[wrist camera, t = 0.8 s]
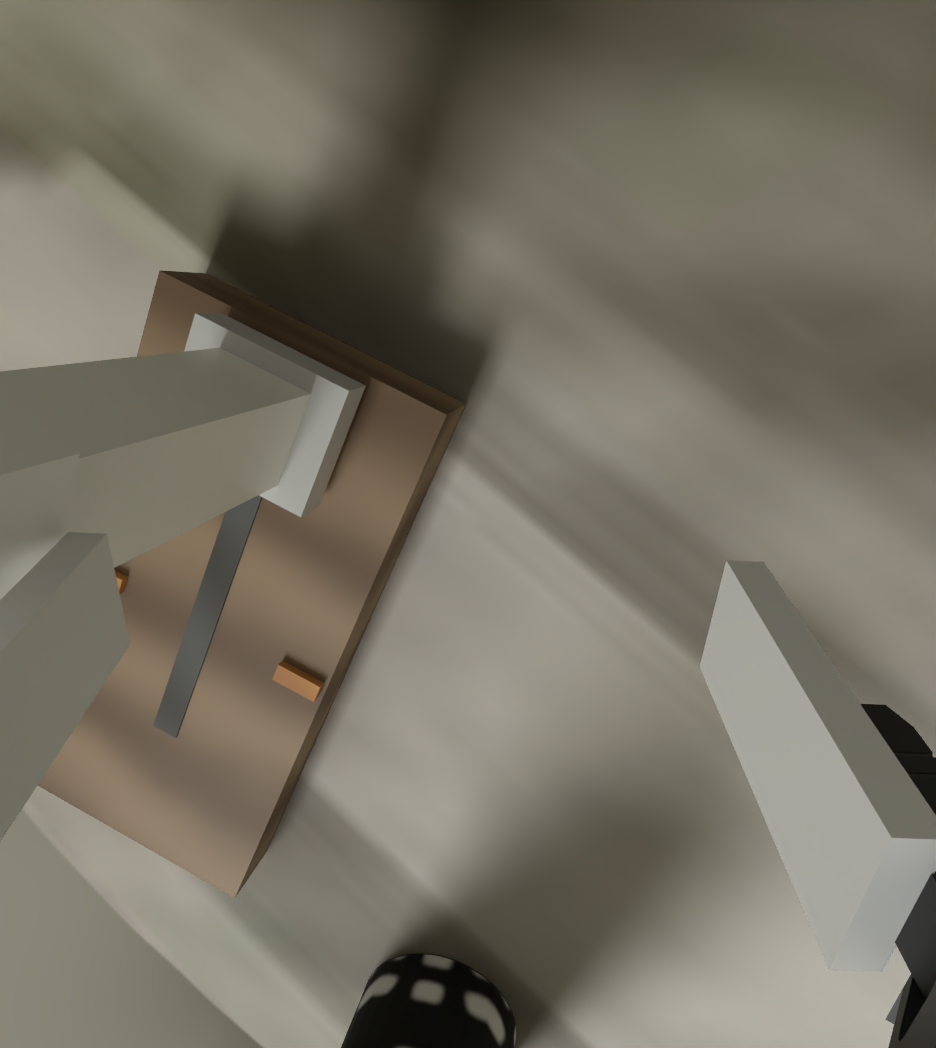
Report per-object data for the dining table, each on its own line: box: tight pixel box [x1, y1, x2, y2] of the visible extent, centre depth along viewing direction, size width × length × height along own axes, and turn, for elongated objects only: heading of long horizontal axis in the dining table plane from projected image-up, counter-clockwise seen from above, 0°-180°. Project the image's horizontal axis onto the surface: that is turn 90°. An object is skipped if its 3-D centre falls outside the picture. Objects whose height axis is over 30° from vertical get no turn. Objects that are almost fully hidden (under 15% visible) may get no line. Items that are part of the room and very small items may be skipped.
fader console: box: [38, 271, 466, 898], centre depth 33 cm, size 26×12×3 cm, turn 155°
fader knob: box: [0, 313, 366, 600], centre depth 20 cm, size 5×6×16 cm
